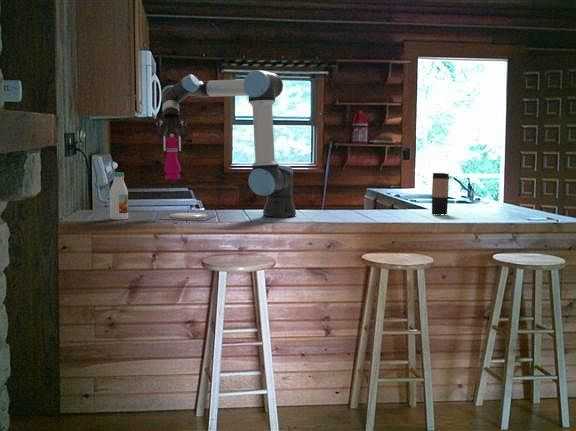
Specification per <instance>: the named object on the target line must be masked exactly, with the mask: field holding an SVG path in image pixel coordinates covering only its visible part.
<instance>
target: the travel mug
mask: <svg viewBox="0 0 576 431" xmlns="http://www.w3.org/2000/svg"><path fill="white" fill-rule="evenodd" d="M449 175H450V174H449V173H446V172H433V173H432V184H431V186H432V188H431V215H432V214H447V215H448V206H449V205H448V203H449V182H450V181H449V177H450V176H449Z"/></svg>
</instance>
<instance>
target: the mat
mask: <svg viewBox="0 0 576 431" xmlns="http://www.w3.org/2000/svg"><path fill="white" fill-rule="evenodd" d="M216 216H217V215H211V214H207V218H201V219H176V218H171V217H170V215H168V216H164V217H163V216H162V217H161V218H160V217H159V220H161V221H162V220H163V221H164V220H165V221H167V220H168V221H186V222H187V221H192V222H205V221H208V220H211V219H213V217H214V218H216Z"/></svg>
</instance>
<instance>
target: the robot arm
mask: <svg viewBox="0 0 576 431" xmlns="http://www.w3.org/2000/svg"><path fill="white" fill-rule="evenodd" d="M283 89H284V83H283V79H282V78H281V76H280V75H278V74H277V73H275V72H270V71H266V70H262V69H261V70H260V69H256V70H251V71H249V73H248V74H247V75H246V76H245V78H242V79H239V78H238V79H218V80H217V79H215V80H199V79H198V77H197V76H195V75H193V74H188V75H186V76H183V78H182V79H181V80H179V81H178V82H177V83H176V84H175V85H172V84H171V85H166V86H165V87H164V88H163V89H162V94H161V99H162V120H159V119H156V120H155V121H156V124H155V125H156V139H157V140H159V139H160V144H161V145H163V152H167V147H166V145H165V141H166V134H167V133H168V130H170V129H174V130H175V132H176V133H177V135H178V141H179V145H178V151H179V152H181V151H182V145H184V140H187V139H188V133H187V119H184V120H181V118H180V116H181V115H180V102H182V101H183V100H185V99H186V98H187V97H189V96H190V97H197V98H211V97H240V96H241V97H243V96H245V97H246V96H247V98H248V103H249V104H250V106H251V107H252V121H253V123H252V124H253V139H254V140H253V141H254V142H253V143H254V145H253V146H254V162H253V163H252V165H251V169H252V171H251V172H250V173H249V177H248V179H247V180H248V186H249V188H250V190H251V191H252V192H253V193H255V194H256V195H258V196H266V201H265V205H264V207H263V211H262V216H263V215H266V216H275V217H274V218H288V217H287V216H295V215H296V216H297V211H296V207H295V203H294V201H293V186H294V185H293V181H294V180H293V179H294V174H293V172H294V171H293V167H291V166H289V165H282V164H281V165H279V163H278V162H277V161H276V156H275V140H274V139H275V138H274V137H275V135H274V118H273V105H274V104H275V102H276V98H277V97H279V96H280V95H281V94H282V92H283ZM180 124H181V126H182V130H181V129H180V127H179V126H180ZM162 125H163V129H162V131H161V126H162ZM182 131H183V133H182ZM266 216H265V217H266ZM296 216H295V217H296Z"/></svg>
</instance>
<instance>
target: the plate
mask: <svg viewBox="0 0 576 431" xmlns="http://www.w3.org/2000/svg"><path fill="white" fill-rule="evenodd" d="M207 215H208V214H206V213H199V212H180V213H179V212H177V213H176V212H175V213H171V214H170V215H169V216H170V217H171V218H176V219H201V218H207Z"/></svg>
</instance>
